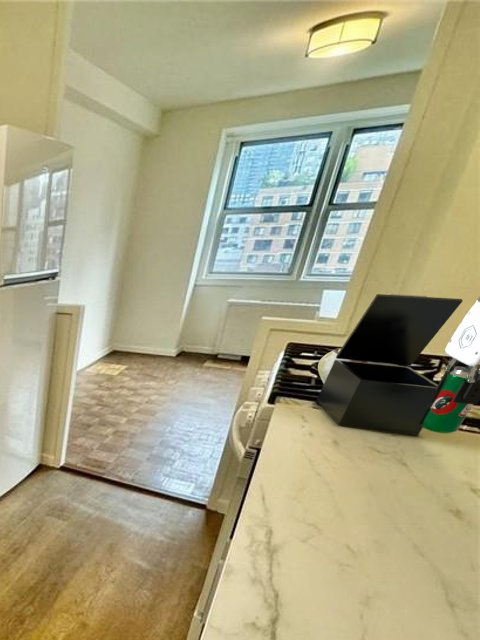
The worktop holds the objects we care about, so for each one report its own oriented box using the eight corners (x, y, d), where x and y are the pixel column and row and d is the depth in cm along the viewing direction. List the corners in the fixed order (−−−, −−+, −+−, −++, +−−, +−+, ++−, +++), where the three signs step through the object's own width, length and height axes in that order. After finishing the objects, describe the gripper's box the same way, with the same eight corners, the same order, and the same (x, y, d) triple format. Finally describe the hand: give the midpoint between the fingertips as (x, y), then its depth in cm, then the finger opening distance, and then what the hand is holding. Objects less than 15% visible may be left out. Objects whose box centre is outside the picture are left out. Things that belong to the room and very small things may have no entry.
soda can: (456, 437, 91) (493, 376, 85) (418, 429, 94) (451, 370, 88) (454, 428, 94) (489, 369, 88) (417, 421, 97) (449, 363, 91)
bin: (417, 436, 103) (445, 389, 98) (338, 425, 108) (360, 379, 103) (385, 409, 116) (409, 366, 111) (315, 401, 121) (335, 359, 116)
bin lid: (463, 300, 98) (455, 288, 101) (377, 295, 103) (372, 284, 106) (410, 365, 110) (404, 353, 113) (336, 358, 115) (332, 346, 118)
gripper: (455, 288, 90) (407, 380, 99) (514, 306, 77) (452, 411, 85) (511, 290, 88) (457, 384, 96) (582, 309, 74) (512, 417, 82)
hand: (455, 396), depth 91 cm, fingers closed on soda can, 5 cm apart
